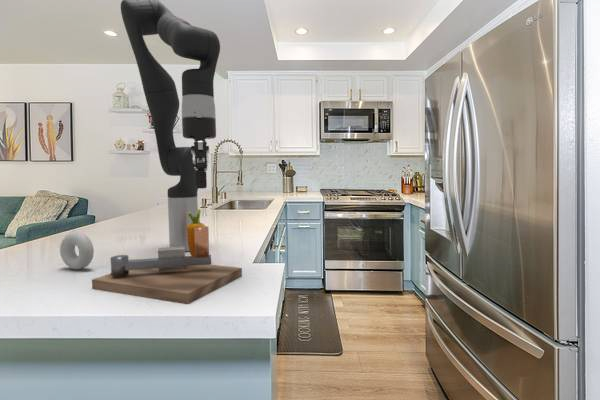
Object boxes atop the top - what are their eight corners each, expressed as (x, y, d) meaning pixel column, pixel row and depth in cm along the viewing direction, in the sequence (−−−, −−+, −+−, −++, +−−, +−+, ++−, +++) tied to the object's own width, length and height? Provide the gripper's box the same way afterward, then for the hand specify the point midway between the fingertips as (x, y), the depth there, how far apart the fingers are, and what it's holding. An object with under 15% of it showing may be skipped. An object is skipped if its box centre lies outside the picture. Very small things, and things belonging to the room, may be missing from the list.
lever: (113, 272, 85) (111, 230, 84) (211, 265, 90) (210, 225, 89) (109, 277, 81) (107, 232, 80) (211, 269, 87) (210, 227, 86)
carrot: (189, 266, 99) (187, 211, 98) (186, 262, 103) (184, 209, 102) (208, 264, 101) (206, 210, 100) (204, 260, 106) (202, 208, 104)
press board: (158, 266, 100) (157, 240, 99) (242, 276, 90) (241, 247, 89) (92, 288, 81) (90, 257, 81) (187, 303, 71) (186, 268, 71)
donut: (97, 269, 97) (95, 231, 97) (86, 272, 94) (84, 233, 93) (69, 266, 101) (67, 229, 100) (57, 269, 97) (55, 232, 97)
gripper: (182, 120, 91) (185, 186, 92) (180, 112, 77) (183, 189, 79) (213, 121, 93) (215, 185, 95) (217, 113, 79) (219, 188, 81)
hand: (201, 187), depth 87 cm, fingers open, 8 cm apart
